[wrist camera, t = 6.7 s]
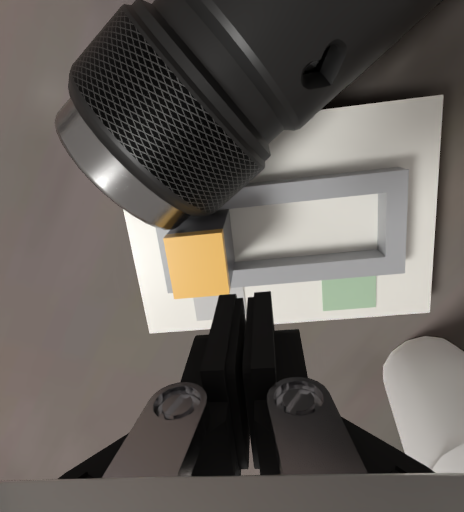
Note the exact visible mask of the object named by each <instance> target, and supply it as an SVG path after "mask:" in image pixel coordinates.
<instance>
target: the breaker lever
mask: <svg viewBox="0 0 464 512" xmlns="http://www.w3.org/2000/svg"><path fill="white" fill-rule="evenodd" d="M163 241H164V246H165V252H166V257H167V263H168V268H169V274H170V279H171V285H172V290H173V296H174V299H183V298H195V297H207V296H219V295H226V294H230V289H231V282H232V275H233V268H234V261H235V255H234V247H233V239H232V230H231V222H230V214H229V209H224V210H218V211H216V212H215V213H213V214H211V215H206V216H192V215H191V216H190V217H189V218H188V219H186V220H185V221H184V222H183V223H182V224H181V225H180V226H179V227H177V228H175V229H173V230H170V231H169V232H168V233H167V234H166V235H165V237H164V238H163Z"/></svg>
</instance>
